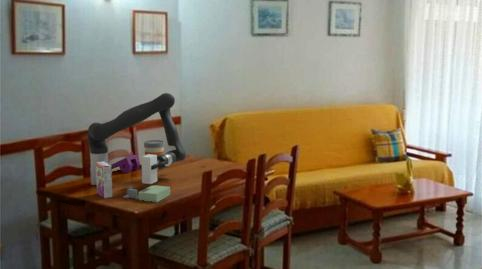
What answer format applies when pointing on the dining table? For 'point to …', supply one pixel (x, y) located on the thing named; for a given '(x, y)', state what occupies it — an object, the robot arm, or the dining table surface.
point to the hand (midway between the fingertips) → (147, 167)
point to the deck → (148, 193)
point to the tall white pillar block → (149, 169)
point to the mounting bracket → (127, 164)
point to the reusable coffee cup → (154, 147)
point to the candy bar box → (104, 179)
